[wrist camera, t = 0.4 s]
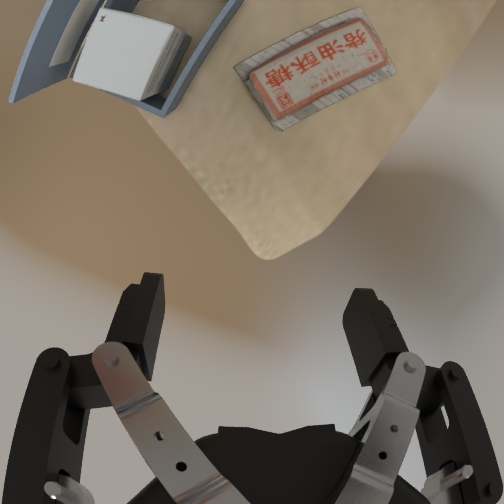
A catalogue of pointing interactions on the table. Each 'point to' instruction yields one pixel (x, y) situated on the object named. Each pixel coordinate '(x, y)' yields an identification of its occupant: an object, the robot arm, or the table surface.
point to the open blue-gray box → (161, 106)
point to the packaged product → (316, 68)
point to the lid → (53, 45)
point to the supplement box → (130, 54)
